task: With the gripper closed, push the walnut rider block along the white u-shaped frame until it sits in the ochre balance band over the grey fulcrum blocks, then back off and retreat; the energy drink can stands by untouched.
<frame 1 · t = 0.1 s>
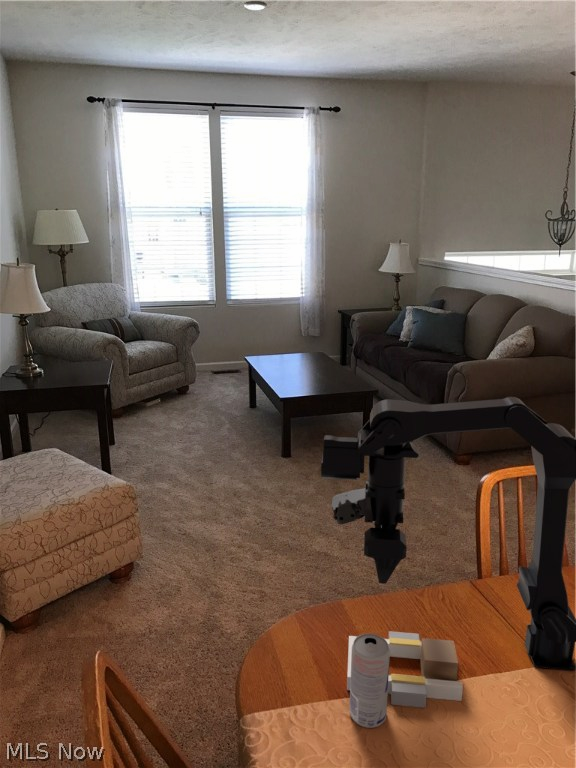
hand: (382, 566, 97), 15 cm above the table, fingers open, 9 cm apart
energy drink: (367, 715, 86), on the table
white u-shaped frame: (405, 673, 94), on the table
rider: (437, 676, 93), on the table
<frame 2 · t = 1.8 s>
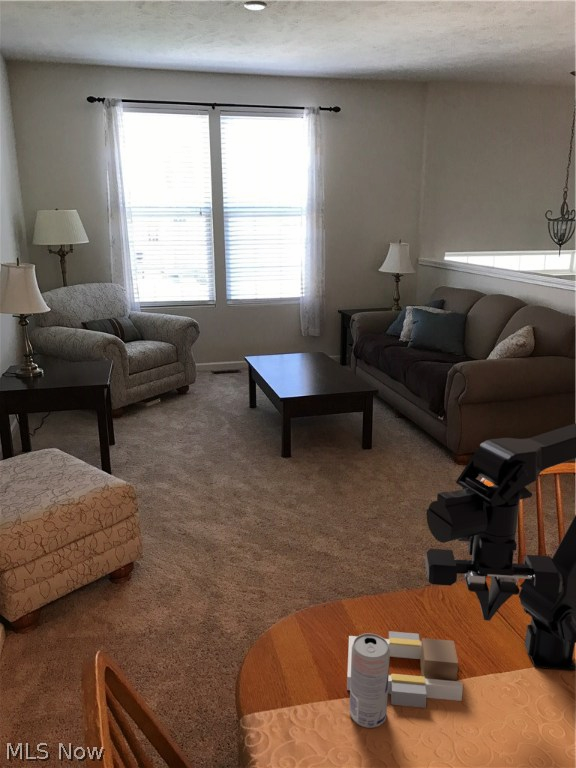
hand: (486, 618, 90), 11 cm above the table, fingers closed
nothing on the table moved.
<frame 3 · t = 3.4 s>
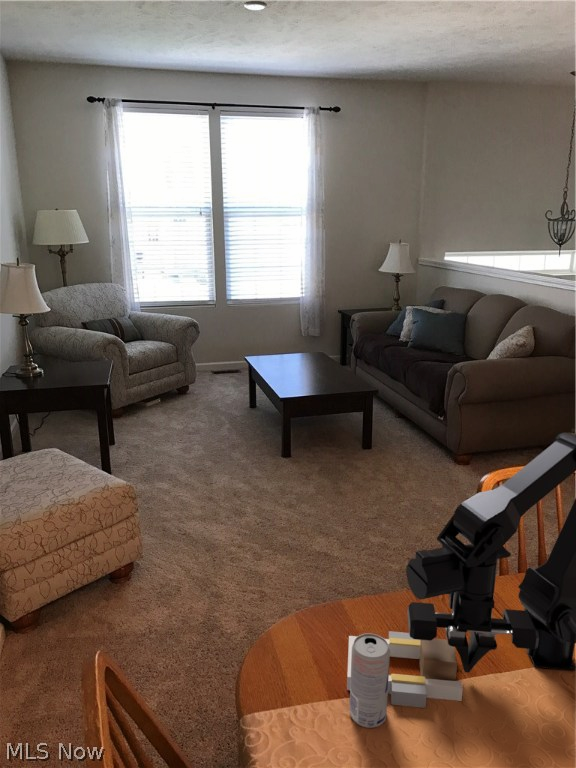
hand: (466, 670, 92), 2 cm above the table, fingers closed
rider: (436, 676, 93), on the table, touching gripper
everything else where it was.
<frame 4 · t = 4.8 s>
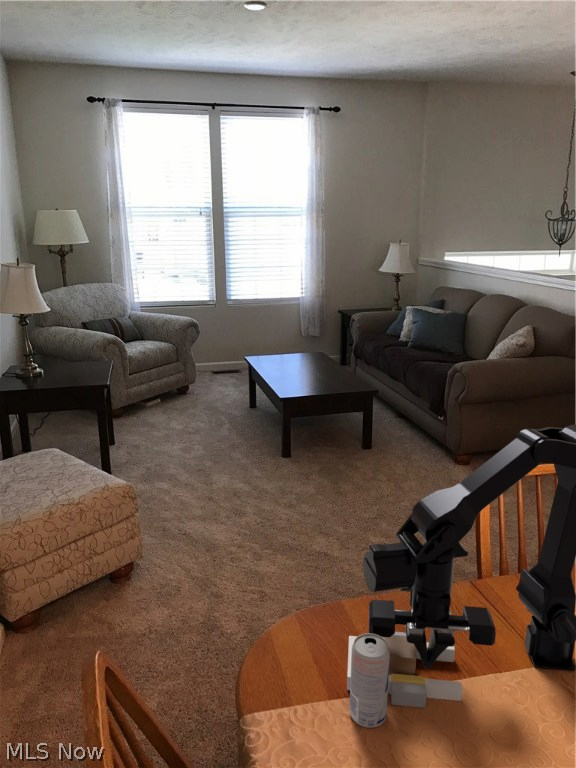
hand: (426, 667, 93), 2 cm above the table, fingers closed
rider: (397, 672, 94), on the table, touching gripper
everything else where it was.
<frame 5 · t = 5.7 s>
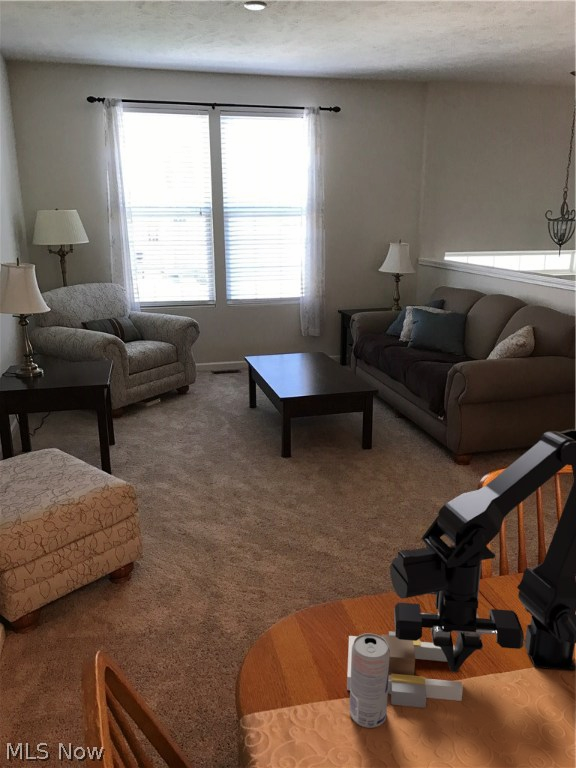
hand: (453, 670, 93), 1 cm above the table, fingers closed
rider: (396, 672, 94), on the table
everything else where it was.
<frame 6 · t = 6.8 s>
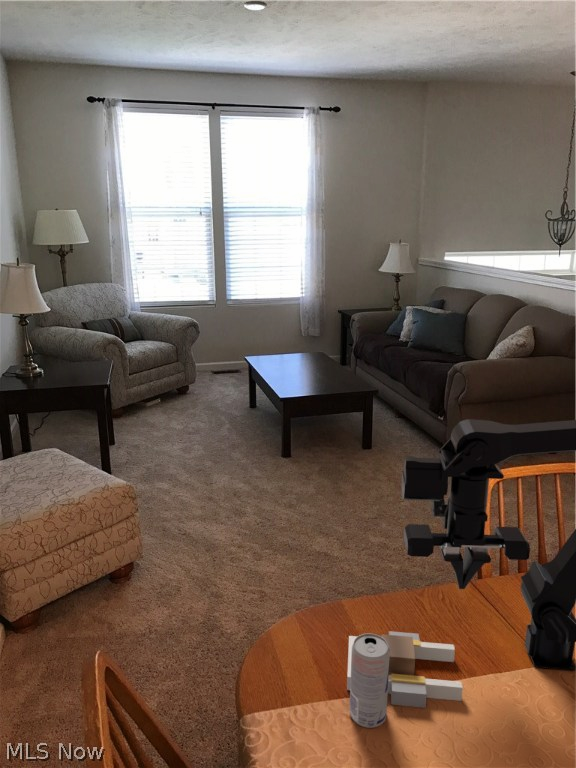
hand: (461, 587, 96), 12 cm above the table, fingers closed
nothing on the table moved.
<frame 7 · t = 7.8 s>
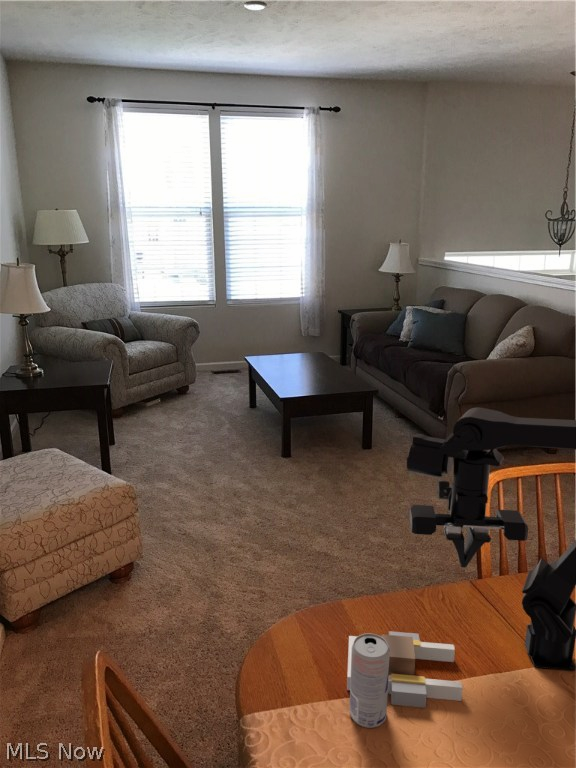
hand: (462, 566, 102), 12 cm above the table, fingers closed
nothing on the table moved.
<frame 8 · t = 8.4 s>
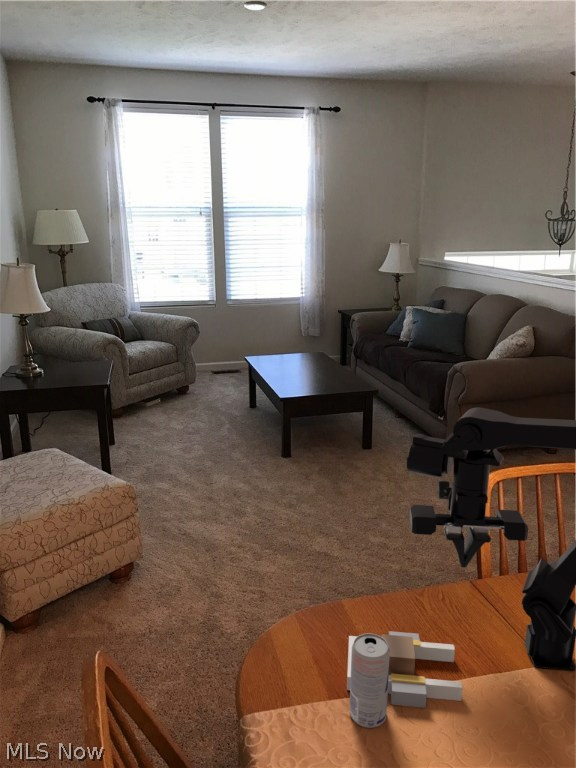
hand: (462, 566, 102), 12 cm above the table, fingers closed
nothing on the table moved.
at the end: rider 1.4 cm off-centre on the white u-shaped frame, point 0.0 cm above the white u-shaped frame's base; rider tilted 0°; rider touching table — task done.
